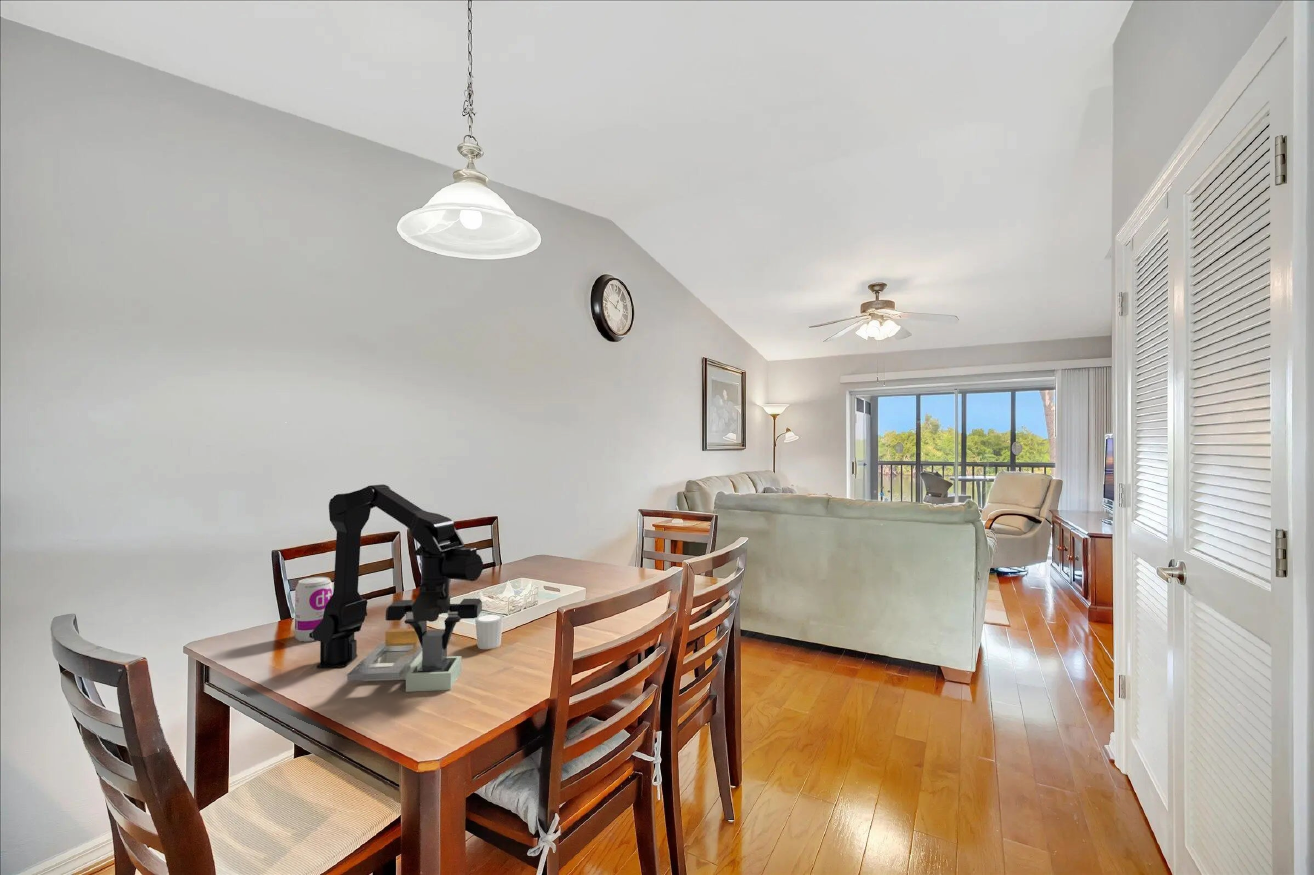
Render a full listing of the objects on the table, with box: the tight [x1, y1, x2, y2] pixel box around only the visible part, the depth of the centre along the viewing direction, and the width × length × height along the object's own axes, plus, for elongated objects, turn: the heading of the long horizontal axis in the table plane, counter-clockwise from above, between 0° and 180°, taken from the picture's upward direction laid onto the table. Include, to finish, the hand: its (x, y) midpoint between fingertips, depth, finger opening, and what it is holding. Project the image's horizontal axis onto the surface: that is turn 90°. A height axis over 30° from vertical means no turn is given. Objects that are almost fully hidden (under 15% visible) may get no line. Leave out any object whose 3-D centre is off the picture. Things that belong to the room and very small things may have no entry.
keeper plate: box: [346, 627, 422, 681], centre depth 121 cm, size 18×10×4 cm, turn 6°
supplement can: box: [294, 576, 333, 643], centre depth 145 cm, size 8×8×15 cm
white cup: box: [474, 613, 504, 650], centre depth 140 cm, size 7×7×7 cm
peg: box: [418, 628, 451, 673], centre depth 119 cm, size 5×5×9 cm
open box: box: [405, 655, 462, 693], centre depth 119 cm, size 9×9×4 cm
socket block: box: [361, 651, 422, 682], centre depth 124 cm, size 10×10×3 cm
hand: (434, 648), depth 119 cm, fingers closed on peg, 4 cm apart
